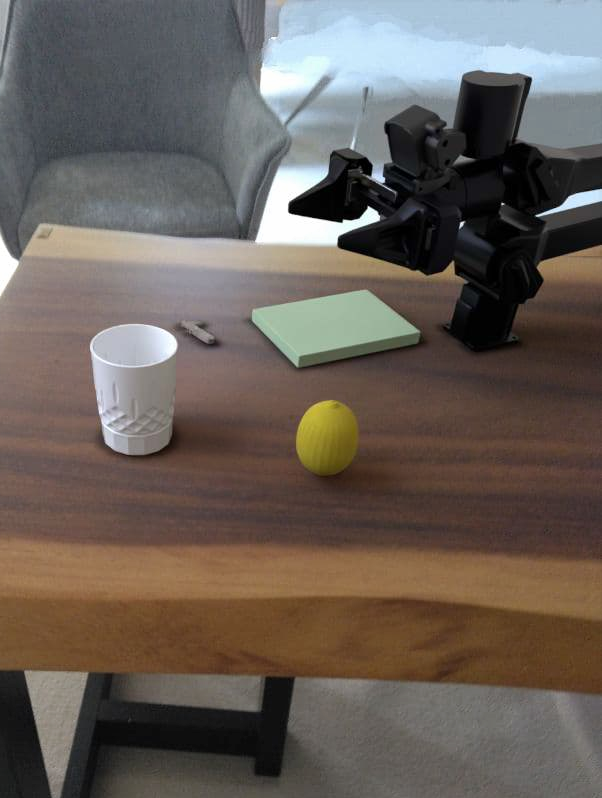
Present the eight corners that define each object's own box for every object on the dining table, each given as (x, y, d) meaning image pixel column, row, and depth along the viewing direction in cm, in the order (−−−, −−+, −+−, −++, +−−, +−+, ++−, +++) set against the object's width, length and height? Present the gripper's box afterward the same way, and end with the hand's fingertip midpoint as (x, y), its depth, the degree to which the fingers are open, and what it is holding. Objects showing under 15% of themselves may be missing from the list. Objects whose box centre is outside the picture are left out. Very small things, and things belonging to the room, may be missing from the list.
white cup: (116, 468, 74) (110, 374, 67) (85, 425, 79) (77, 334, 72) (191, 447, 77) (193, 354, 70) (156, 406, 82) (155, 317, 75)
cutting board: (364, 300, 101) (366, 289, 100) (418, 343, 93) (421, 331, 92) (251, 320, 96) (252, 309, 95) (297, 368, 88) (299, 356, 87)
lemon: (349, 497, 72) (364, 423, 66) (288, 488, 72) (297, 414, 67) (353, 461, 76) (366, 388, 70) (295, 453, 76) (304, 381, 71)
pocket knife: (227, 335, 92) (207, 339, 91) (226, 342, 93) (206, 346, 91) (197, 316, 96) (177, 320, 94) (196, 323, 96) (176, 326, 94)
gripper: (405, 83, 80) (269, 106, 76) (533, 134, 68) (379, 165, 63) (389, 195, 88) (265, 222, 84) (501, 260, 75) (362, 295, 71)
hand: (312, 224), depth 75 cm, fingers open, 9 cm apart
